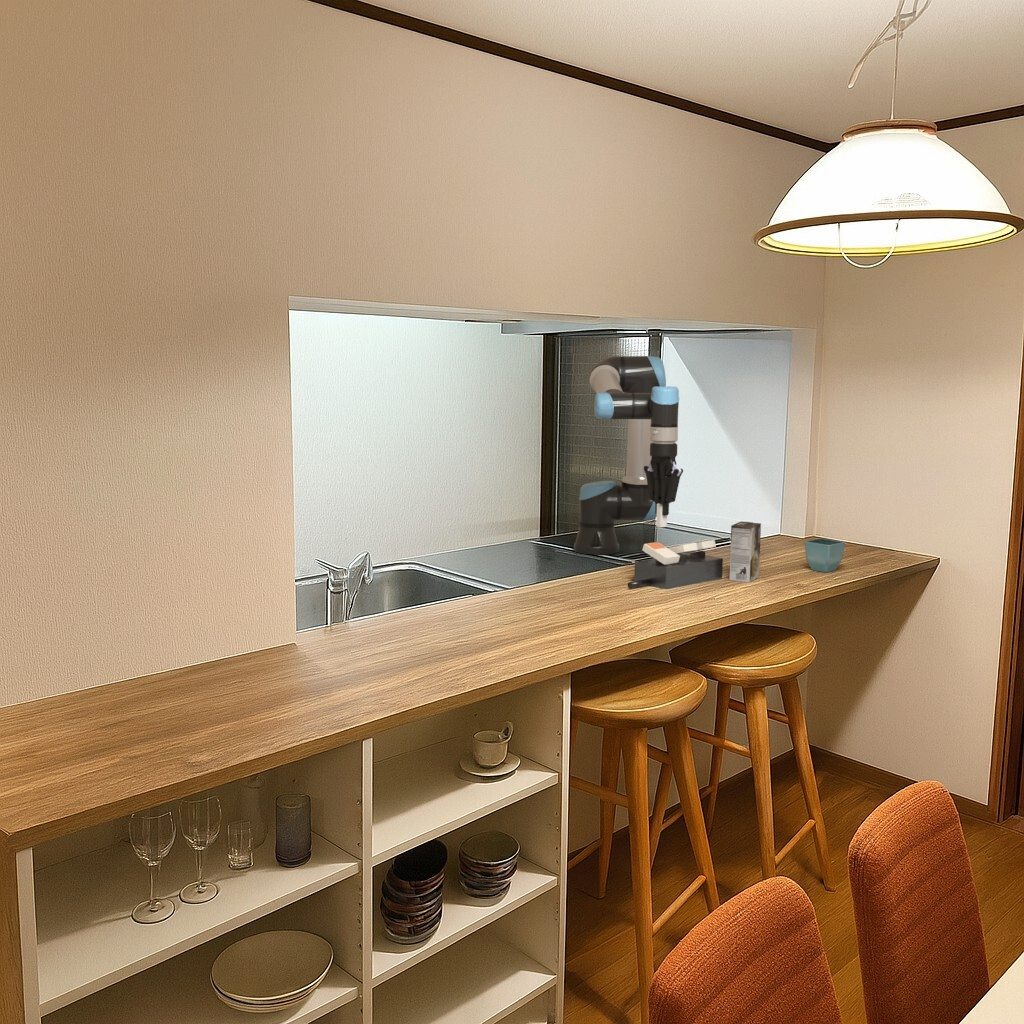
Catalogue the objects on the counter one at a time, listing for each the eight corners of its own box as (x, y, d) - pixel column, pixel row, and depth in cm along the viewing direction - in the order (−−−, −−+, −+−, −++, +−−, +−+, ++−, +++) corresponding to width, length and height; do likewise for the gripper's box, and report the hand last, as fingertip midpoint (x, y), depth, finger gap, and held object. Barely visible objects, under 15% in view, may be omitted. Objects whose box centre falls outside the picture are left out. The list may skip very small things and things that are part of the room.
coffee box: (738, 574, 289) (740, 521, 287) (759, 577, 286) (761, 522, 284) (728, 580, 281) (730, 524, 279) (750, 582, 278) (752, 526, 276)
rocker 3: (680, 553, 287) (678, 546, 287) (693, 551, 290) (691, 544, 290) (703, 548, 280) (701, 541, 280) (715, 546, 283) (714, 539, 283)
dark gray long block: (614, 585, 273) (614, 559, 272) (690, 572, 293) (691, 547, 292) (645, 593, 264) (646, 566, 263) (722, 578, 284) (723, 553, 283)
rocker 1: (642, 550, 276) (644, 543, 275) (655, 548, 280) (657, 541, 279) (664, 564, 270) (666, 557, 269) (678, 562, 274) (680, 555, 273)
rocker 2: (661, 556, 282) (660, 549, 282) (674, 554, 285) (673, 547, 285) (684, 551, 275) (682, 544, 275) (697, 549, 278) (696, 542, 278)
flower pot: (827, 574, 290) (829, 545, 289) (802, 570, 297) (803, 541, 296) (844, 571, 296) (845, 541, 294) (818, 566, 302) (820, 538, 301)
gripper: (637, 441, 273) (635, 524, 276) (672, 444, 263) (669, 530, 266) (655, 440, 278) (653, 522, 281) (690, 443, 268) (688, 528, 271)
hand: (661, 526), depth 274 cm, fingers closed
